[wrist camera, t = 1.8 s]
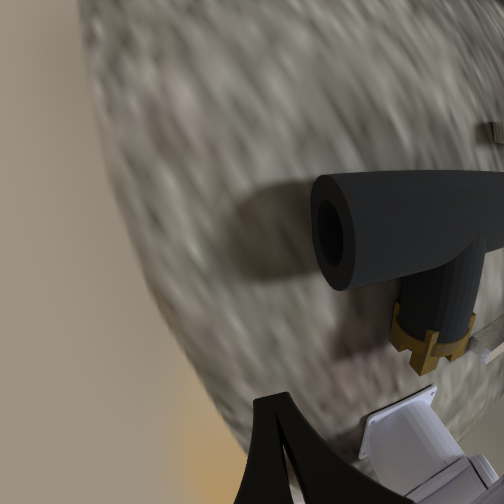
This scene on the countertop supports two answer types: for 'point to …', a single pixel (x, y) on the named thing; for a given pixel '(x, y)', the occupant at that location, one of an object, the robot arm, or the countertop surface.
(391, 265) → the pipe connector
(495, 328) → the aluminium bracket
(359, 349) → the countertop surface
